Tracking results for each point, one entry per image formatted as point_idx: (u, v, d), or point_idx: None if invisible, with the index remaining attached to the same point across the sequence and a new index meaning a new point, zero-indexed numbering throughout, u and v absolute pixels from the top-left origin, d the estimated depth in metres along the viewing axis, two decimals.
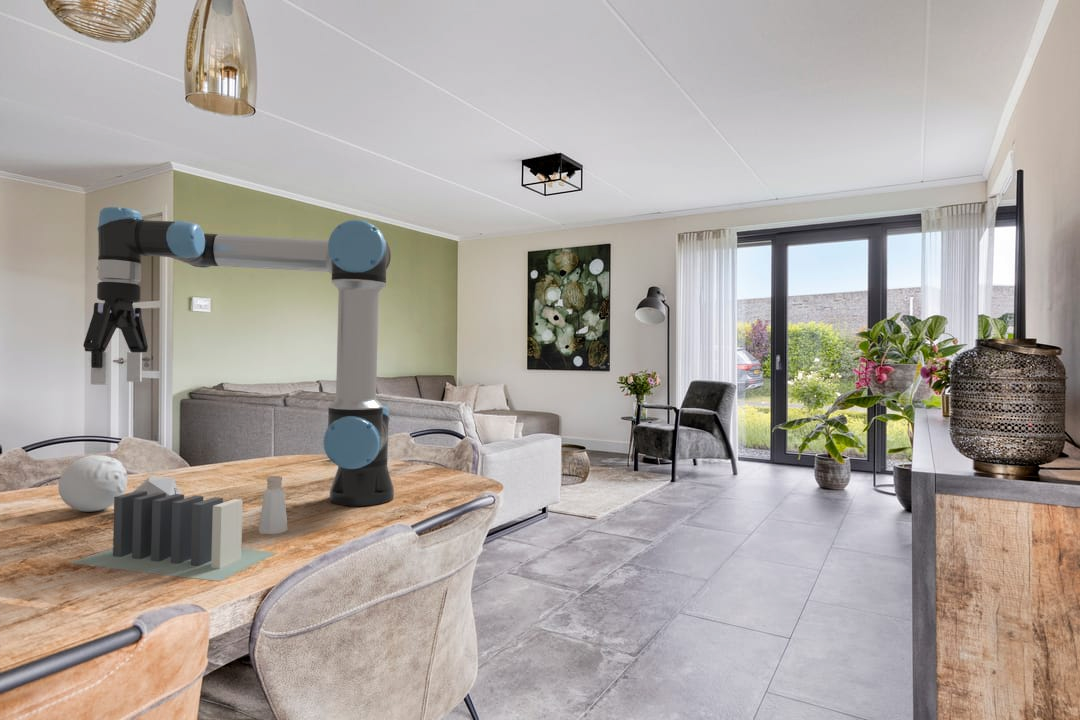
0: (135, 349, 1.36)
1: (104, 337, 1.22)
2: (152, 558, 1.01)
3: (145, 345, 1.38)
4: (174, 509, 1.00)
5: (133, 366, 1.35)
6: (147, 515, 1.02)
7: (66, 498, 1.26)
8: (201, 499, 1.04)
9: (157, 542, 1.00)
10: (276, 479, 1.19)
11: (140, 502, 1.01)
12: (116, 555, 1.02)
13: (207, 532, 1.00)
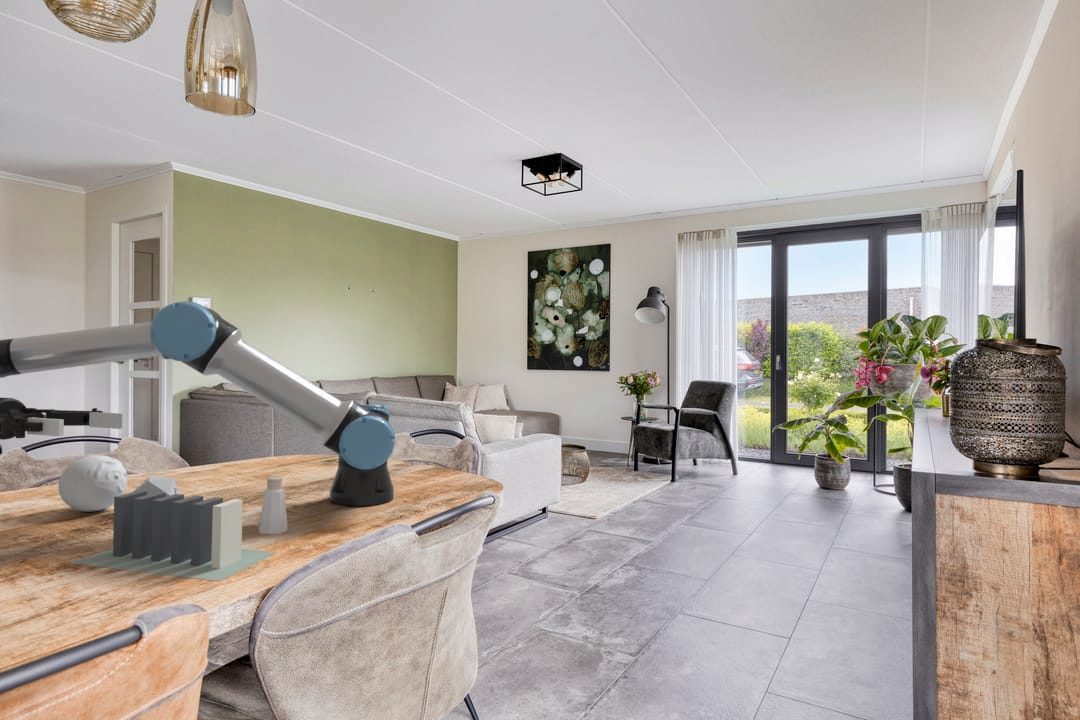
0: None
1: (14, 420, 1.02)
2: (152, 558, 1.01)
3: None
4: (174, 509, 1.00)
5: (103, 420, 1.12)
6: (147, 515, 1.02)
7: (67, 498, 1.26)
8: (201, 499, 1.04)
9: (157, 542, 1.00)
10: (276, 479, 1.19)
11: (140, 502, 1.01)
12: (116, 555, 1.02)
13: (207, 532, 1.00)
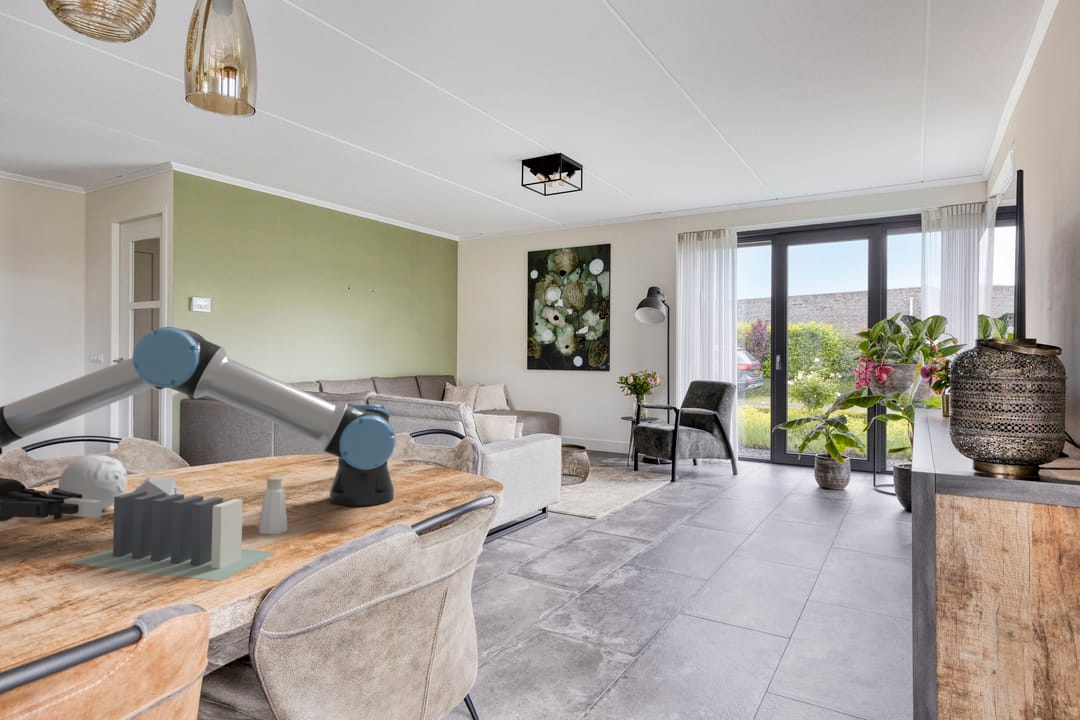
0: None
1: None
2: (152, 558, 1.01)
3: None
4: (174, 509, 1.00)
5: None
6: (147, 515, 1.02)
7: None
8: (201, 499, 1.04)
9: (157, 542, 1.00)
10: (276, 479, 1.19)
11: (140, 502, 1.01)
12: (116, 555, 1.02)
13: (207, 532, 1.00)
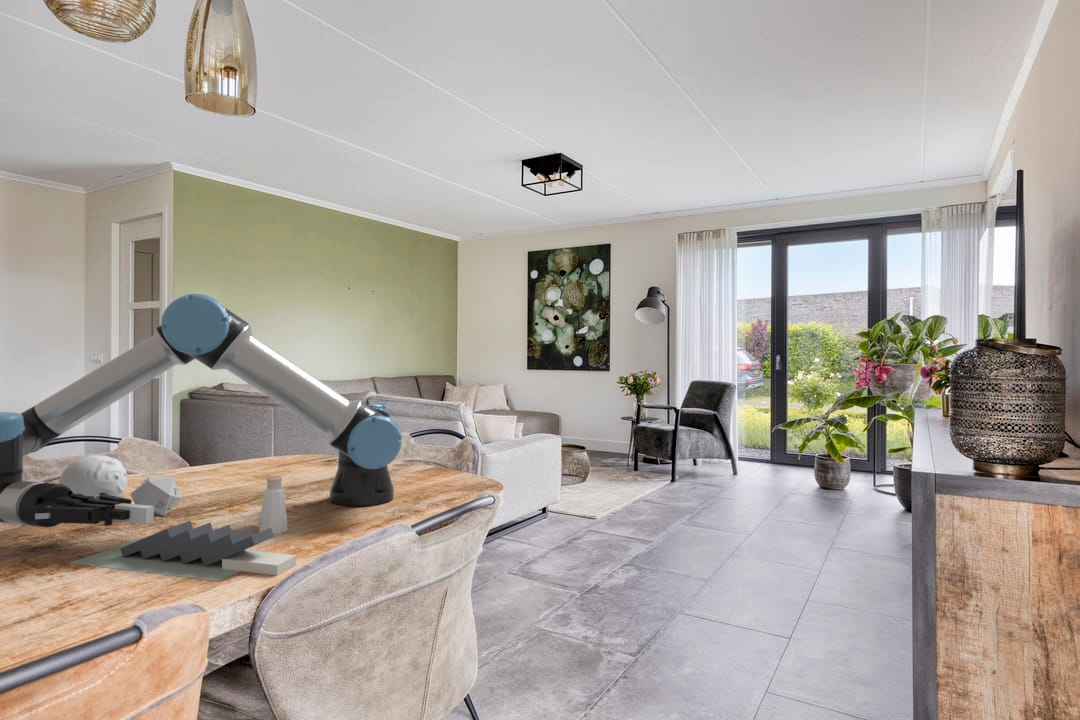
0: None
1: None
2: (161, 553, 1.00)
3: None
4: (224, 539, 0.98)
5: None
6: None
7: None
8: (249, 536, 1.02)
9: (176, 553, 1.00)
10: (276, 479, 1.19)
11: (188, 539, 0.99)
12: (122, 552, 1.02)
13: None
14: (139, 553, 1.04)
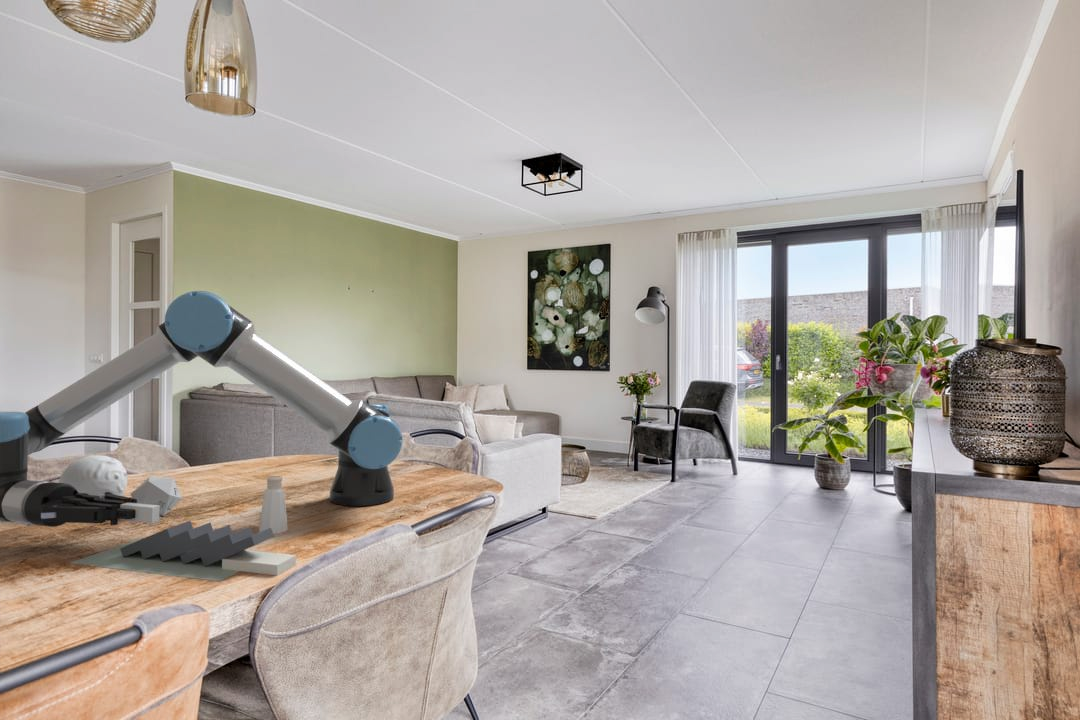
0: None
1: None
2: (161, 553, 1.00)
3: None
4: (224, 539, 0.98)
5: None
6: None
7: None
8: (249, 536, 1.02)
9: (176, 553, 1.00)
10: (276, 479, 1.19)
11: (188, 539, 0.99)
12: (122, 552, 1.02)
13: None
14: (139, 553, 1.04)
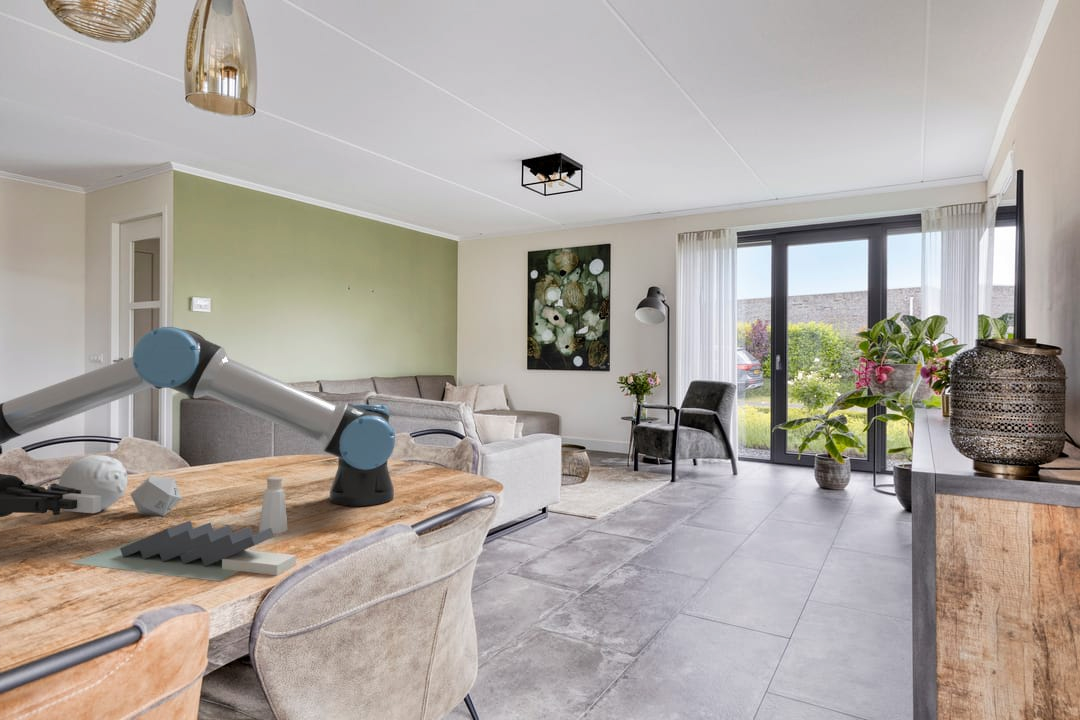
0: None
1: None
2: (161, 553, 1.00)
3: None
4: (224, 539, 0.98)
5: None
6: None
7: None
8: (249, 536, 1.02)
9: (176, 553, 1.00)
10: (276, 479, 1.19)
11: (188, 539, 0.99)
12: (122, 552, 1.02)
13: None
14: (139, 553, 1.04)
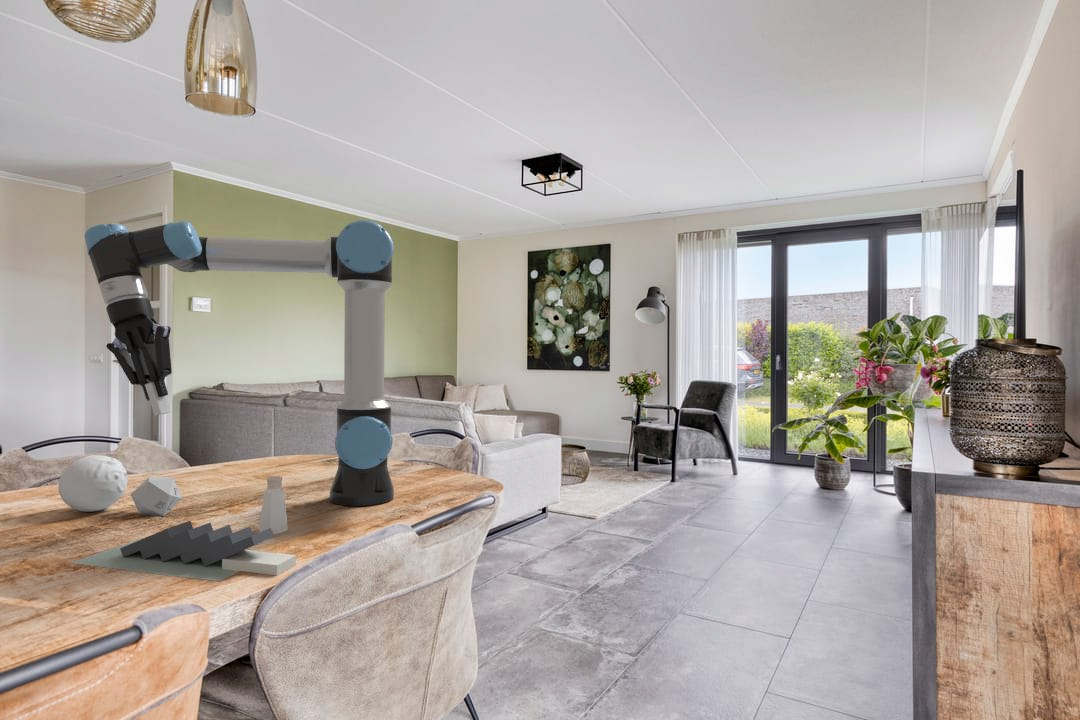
0: (147, 379, 1.22)
1: None
2: (161, 553, 1.00)
3: None
4: (224, 539, 0.98)
5: None
6: None
7: (67, 498, 1.26)
8: (249, 536, 1.02)
9: (176, 553, 1.00)
10: (276, 479, 1.19)
11: (188, 539, 0.99)
12: (122, 552, 1.02)
13: None
14: (139, 553, 1.04)
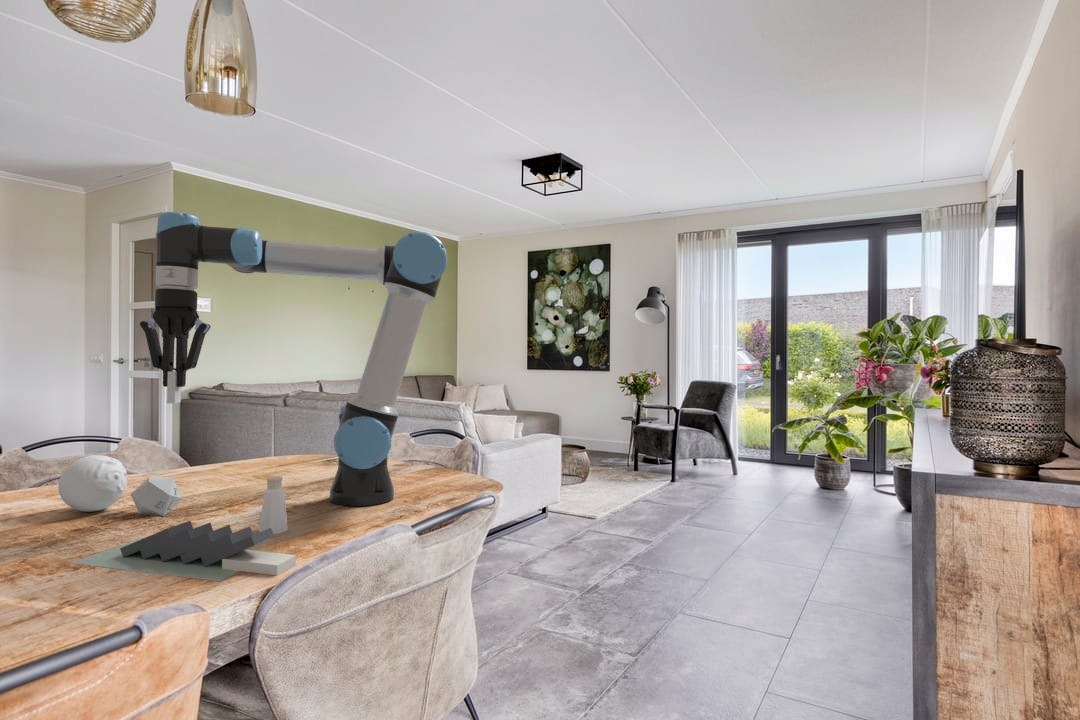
0: (170, 366, 1.26)
1: (186, 356, 1.27)
2: (161, 553, 1.00)
3: None
4: (224, 539, 0.98)
5: None
6: None
7: (67, 498, 1.26)
8: (249, 536, 1.02)
9: (176, 553, 1.00)
10: (276, 479, 1.19)
11: (188, 539, 0.99)
12: (122, 552, 1.02)
13: None
14: (139, 553, 1.04)
